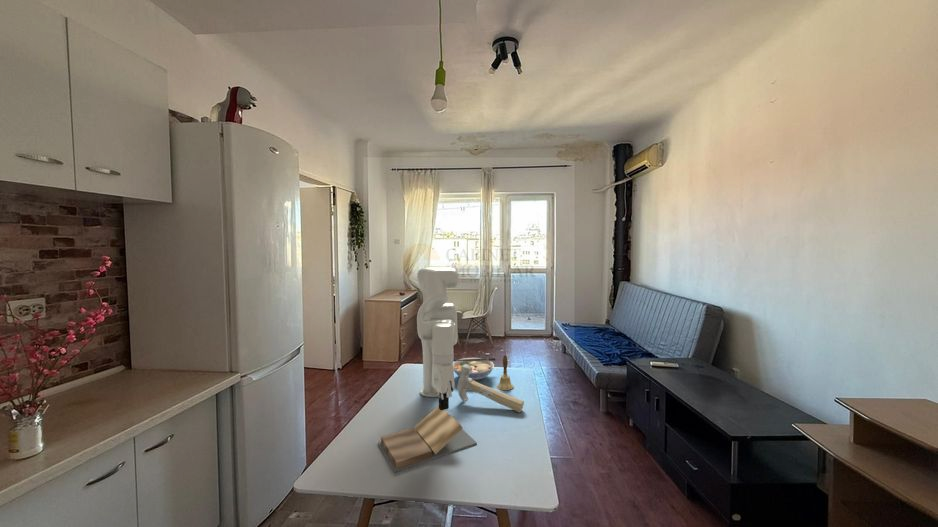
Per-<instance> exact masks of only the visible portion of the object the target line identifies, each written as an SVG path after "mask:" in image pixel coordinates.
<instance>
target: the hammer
mask: <svg viewBox="0 0 938 527" xmlns="http://www.w3.org/2000/svg"><path fill="white" fill-rule="evenodd" d="M471 371H472V367H471V366H470V365H467V364H465V365H463V367H462V368H461V373H462V375H461V376H460V377H459V378H458V382H457V391H458V396H459V398H460V399H461V401H462V402H463V403H466V402H467V401H468V400H469V396H468V394H467V391H468V390H470V391H472V392H474V393H477V394H478V395H481V396H483V397H486V398H487V399H489V400H491V401H493V402H495V403H498V404H499V405H502V406H504V407H506V408H508V409H511V410H513V411H515V412H517V413H521V412H522V410H523V408H524V406H525V404H524V403H525V401H524V400H523V399H519V398H517V397H514V396H512V395H509V394H506V393H504V392H502V391H499V390H498V389H494V388H492V387H489V386H487V385H484V384H482V383H480V382H478V381H473V379H472V378H469V377H468V375H469V374H470V373H471Z"/></svg>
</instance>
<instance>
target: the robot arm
mask: <svg viewBox="0 0 938 527" xmlns="http://www.w3.org/2000/svg"><path fill="white" fill-rule="evenodd" d="M417 282H418V284H419V287H420V289H421V293H422V304H421V305H420V306H419V308H418V311H417V314H416V315H417V316H416V325H417V326H416V328H417V336H418V338H419V339H420V340H421V346H422V347H421V348H422V371H423V372H422V375H423V376H422V382H423V384H422V385H423V386H422V387H421V388H420V391H419V393H420V395H421V396H423V397H425V398H426V397H427V398H437V397H438V405H439V409H440V410H441V411H442V410H445V411H447V410H448V409H449V407H450V404H449V403H450V402H449V401H450V400H449V399H450V398H452V397H453V394H452V393H453V392H454V391H455V372H454V370H453V364H452V363H453V362H454V360H455V359H454V346H455V345H456V344H457V343H458V339H459V338H458V337H459V335H458V333H459V332H458V312H457V311H458V310H457V307H456V305H455V304H454V303H452V302H448V299H449V298H448V293H447V292H448V291H447V289H455V288H457V287H458V286H459V285H460V284H459V282H460V276H459V273H458V271H457V269H455V268H454V267H424V268H421V269H418V270H417Z"/></svg>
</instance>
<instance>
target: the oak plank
mask: <svg viewBox="0 0 938 527" xmlns="http://www.w3.org/2000/svg"><path fill="white" fill-rule="evenodd" d="M413 428H414V429H415V431H417V432H418V433H419V435H420V436H421V437H422V438H423V440H424V441H425V442H426V443H427V445H428V446H429V447H430V448H431V449H432V451H433V452H434V453H435V454H437V453H438V452H439V451H440V450H441V449H442V448H443V447H444V446H445V445H446V444H447V443H448V442H449V441H450V440H451V439H452V438H453V437H454V436H456V435H457V434H458V433H459V432H460V431H461V430H462V429H463V426H462V425H461V423H459V421H457V420H456V418H454V417H453V416H452V415H451V414H450V413H449V412H447V410H442V411H441V410H440V409H439V404H438V405H437V406H436V407H435V408H434V409H433V410H432V411H431V412H429V413H428V414H427V415H426V416H425V417H424V418H423V419H422V420H420V421H419V422H418V423H417V424H416V425H414V427H413ZM463 430H464V429H463Z"/></svg>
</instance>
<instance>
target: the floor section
mask: <svg viewBox="0 0 938 527" xmlns="http://www.w3.org/2000/svg"><path fill="white" fill-rule="evenodd" d="M380 439H381V440H380V441H378V442H377V445H378V444H379V445H378V446H380V447H379V448H380V450H381V452H382V451H383V452H382V454H383V453H384V454H383V456H384V457H385V459H386V461H387V462H388V464H389V466H390V468H391V469H392V471H393V473H397V472H400V471H402V470H406V469H409V468H411V467H414V466H417V465H420V464H423V463H426V462H429V461H433V460H435V459H438V458H440V457H444V456H446V455H450V454H452V453H456V452H458V451H461V450H462V451H463V450H465V449H466V448H467V449H468V448H470V447H473V446H476V445H477V444H478V442H477V441H476V440H474V438H473V437H472V436H470V435H469V434H468V433H467V432H466V431H465V430H464V429H462V430H461V431H460V432H459V433H458V434H457V435H456V436H454V437H453V438H452V439H451V440H450V441H449V442H448V443H447V444H446V445H445V446H444V447H443V448H442V449H441V450H440V451H439V452H438V453H437V454H435V453H434V452H433V451H432V449H431V448H430V447H429V446H428V445H427V443H426V442H425V441H424V440H423V438H422V437H421V436H420V435H419V433H418V432H417V431H416V430H415V428H414V427H411V428H408V429H403V430H400V431H397V432H394V433H389V434H386V435H383V436H381V437H380Z"/></svg>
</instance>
